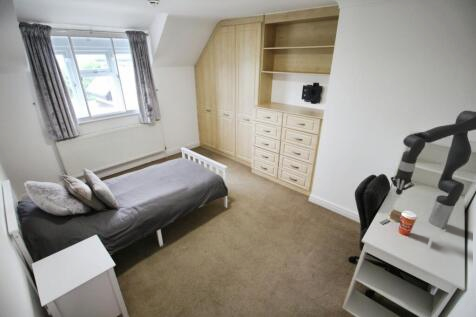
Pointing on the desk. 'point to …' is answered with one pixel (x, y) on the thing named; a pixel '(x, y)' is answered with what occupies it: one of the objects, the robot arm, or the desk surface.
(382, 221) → the slate strip
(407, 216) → the paper cup
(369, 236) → the desk surface
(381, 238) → the desk surface
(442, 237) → the desk surface
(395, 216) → the walnut block
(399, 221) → the cork coaster
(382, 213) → the desk surface
